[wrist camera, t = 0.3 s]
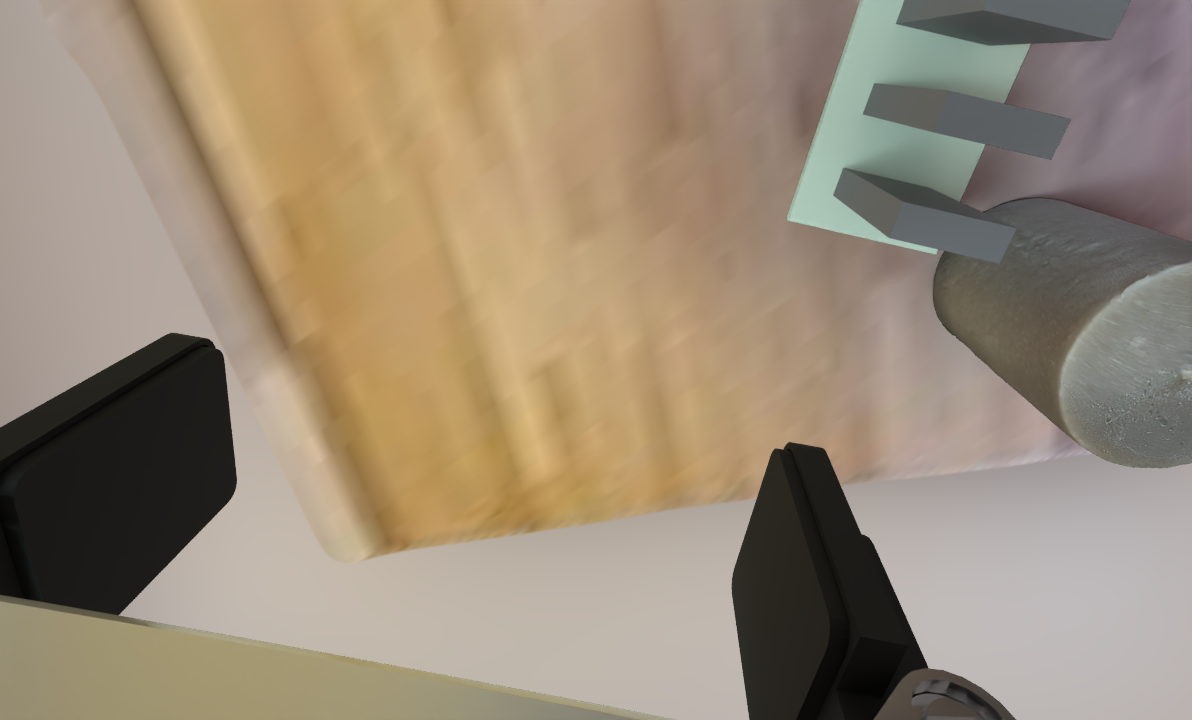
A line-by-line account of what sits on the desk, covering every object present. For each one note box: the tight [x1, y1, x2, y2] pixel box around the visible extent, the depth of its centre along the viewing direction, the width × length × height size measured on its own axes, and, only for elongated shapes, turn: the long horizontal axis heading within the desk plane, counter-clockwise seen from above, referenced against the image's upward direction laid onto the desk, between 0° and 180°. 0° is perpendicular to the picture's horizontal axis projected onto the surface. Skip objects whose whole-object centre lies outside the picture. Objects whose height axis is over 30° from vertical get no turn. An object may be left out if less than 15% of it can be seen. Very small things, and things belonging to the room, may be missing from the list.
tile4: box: [896, 0, 1130, 46], centre depth 29 cm, size 2×5×10 cm, turn 78°
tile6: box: [833, 168, 1017, 263], centre depth 33 cm, size 2×5×10 cm, turn 78°
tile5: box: [863, 83, 1071, 160], centre depth 31 cm, size 2×5×10 cm, turn 78°
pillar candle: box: [933, 198, 1192, 468], centre depth 32 cm, size 10×10×15 cm
